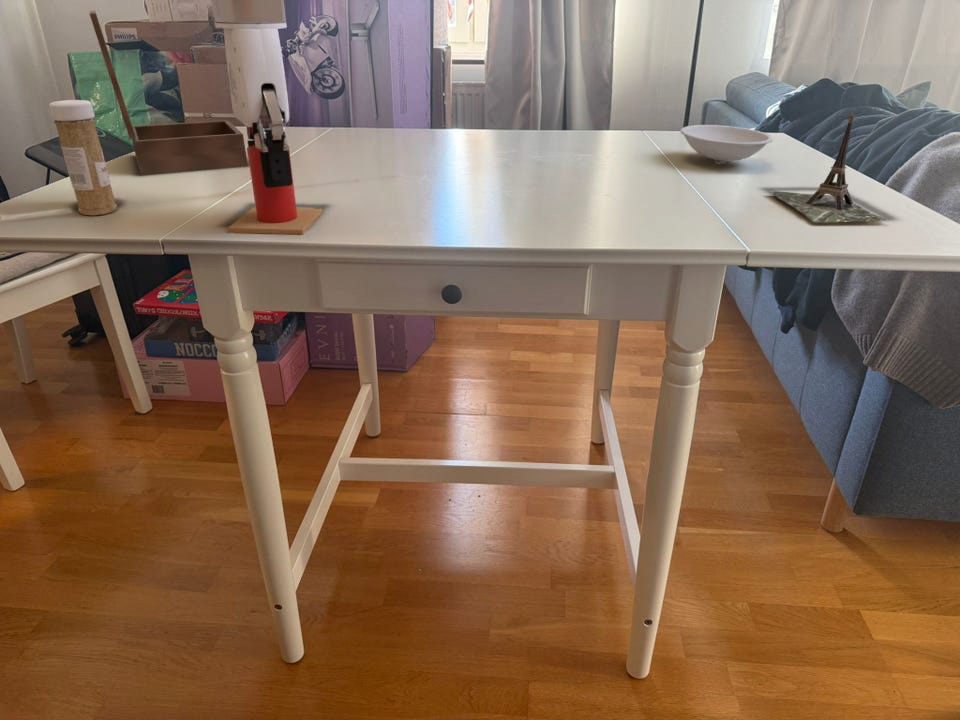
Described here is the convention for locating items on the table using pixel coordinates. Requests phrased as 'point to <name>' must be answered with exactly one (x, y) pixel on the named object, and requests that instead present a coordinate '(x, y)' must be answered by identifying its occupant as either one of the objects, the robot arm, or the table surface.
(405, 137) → the table surface
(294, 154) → the table surface
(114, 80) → the lid
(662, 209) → the table surface
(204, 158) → the wooden storage tray
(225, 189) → the table surface
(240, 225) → the trivet
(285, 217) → the ketchup
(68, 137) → the sprinkles bottle
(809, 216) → the eiffel tower figurine
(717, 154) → the dish
